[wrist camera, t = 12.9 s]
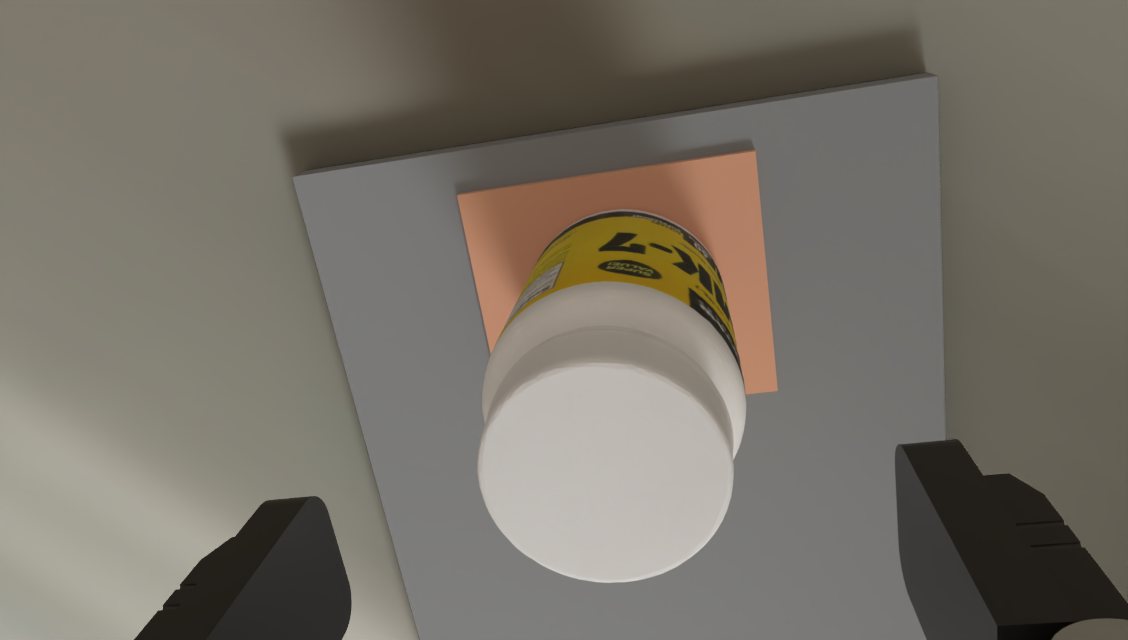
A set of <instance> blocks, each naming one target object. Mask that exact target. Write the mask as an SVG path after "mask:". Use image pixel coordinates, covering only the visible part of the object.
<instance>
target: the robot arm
mask: <svg viewBox="0 0 1128 640" xmlns="http://www.w3.org/2000/svg"><path fill="white" fill-rule="evenodd" d="M895 478H896V500H897V522H898V543H899V555H900V562H901V568H902V573H903V578H904V582H905V586H906V589H907V592H908V595H909V598H910V600H911V603H912V605H913V608H914V610H915V613H916V615H917V618H918V620H919V622H920V625H921V627H922V630H923V632H924V635H925V637H926V640H1128V603H1127V602H1126V601H1125V599H1124V598H1123V597H1122V596H1121V594H1120V593H1119V592H1118V590H1117V589H1116V588H1115V586H1114V585H1113V584H1112V583H1111V581H1110V580H1109V579H1108V577H1107V576H1106V575H1105V573H1104V572H1103V571H1102V570H1101V568H1100V567H1099V566H1098V564H1097V563H1096V562H1095V560H1094V559H1093V558H1092V557H1091V555H1090V554H1089V553H1088V551H1087V550H1086V549H1085V548H1082V547H1081V544H1080V541H1079V540H1078V538H1077V537H1076V536H1075V534H1074V533H1073V532H1072V531H1071V529H1070V528H1069V527H1068V525H1064V520H1063V519H1062V517H1061V516H1060V515H1059V514H1058V512H1057V511H1056V510H1055V508H1054V507H1053V506H1052V504H1051V503H1050V502H1049V501H1048V499H1047V498H1046V497H1045V495H1044V494H1042V493H1041V492H1039V491H1037V490H1036V489H1034V488H1032V487H1031V486H1029V485H1027V484H1026V483H1024V482H1022V481H1021V480H1019V479H1017V478H1016V477H1014V476H1012V475H1011V474H997V475H985V476H983V475H982V473H981V472H980V470H979V469H978V467H977V466H976V464H975V463H974V461H973V460H972V458H971V457H970V455H969V454H968V452H967V451H966V449H965V448H964V446H963V445H962V443H961V442H960V441H959V440H957V439H953V440H942V441H931V442H920V443H909V444H898V445H897V447H896V450H895ZM350 615H351V590H350V585H349V581H348V578H347V574H346V571H345V567H344V564H343V561H342V557H341V554H340V550H339V547H338V544H337V540H336V537H335V533H334V530H333V527H332V523H331V520H330V517H329V513H328V510H327V508H326V506H325V504H324V502H323V501H322V500H321V499H320V498H319V497H317V496H311V497H300V498H289V499H278V500H268V501H265V502H264V503H262V504H261V505H260V507H259V508H258V509H257V510H256V511H255V513H254V514H253V515H252V516H251V518H250V519H249V520H248V521H247V523H246V524H245V525H244V526H243V528H242V529H241V530H240V531H239V533H238V534H237V535H236V536H235V537H232V538H230V539H229V540H228V541H226V542H225V543H223V544H222V545H221V546H219V547H218V548H217V549H215V550H214V551H212V552H211V553H210V554H208V555H207V556H206V557H204V558H203V559H201V560H200V561H199V563H198V564H197V565H196V566H195V567H194V569H193V570H192V571H191V572H190V573H189V575H188V576H187V577H186V578H185V579H184V581H183V582H182V583H181V584H180V589H179V590H175V591H174V593H173V594H172V595H171V596H170V597H169V599H168V600H167V601H166V602H165V603H164V605H163V610H161V611H158V612H157V613H156V614H155V615H154V617H153V618H152V619H151V620H150V621H149V622H148V624H147V625H146V626H145V627H144V628H143V630H142V631H141V632H140V633H139V634H138V636H137V637H136V638H135V639H134V640H342V638H343V636H344V634H345V632H346V630H347V627H348V624H349V620H350Z"/></svg>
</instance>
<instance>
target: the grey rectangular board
mask: <svg viewBox="0 0 1128 640" xmlns="http://www.w3.org/2000/svg"><path fill="white" fill-rule="evenodd" d="M292 178H293V182H294V185H295V189H296V193H297V196H298V200H299V204H300V207H301V211H302V214H303V218H304V222H305V225H306V229H307V233H308V236H309V240H310V244H311V247H312V251H313V254H314V258H315V262H316V265H317V269H318V273H319V276H320V280H321V283H322V287H323V291H324V294H325V298H326V302H327V305H328V309H329V312H330V316H331V320H332V323H333V327H334V331H335V334H336V338H337V341H338V345H339V349H340V352H341V356H342V360H343V363H344V367H345V370H346V374H347V378H348V381H349V385H350V389H351V392H352V396H353V399H354V403H355V407H356V410H357V414H358V418H359V421H360V425H361V429H362V432H363V436H364V439H365V443H366V447H367V450H368V454H369V458H370V461H371V465H372V468H373V472H374V476H375V479H376V483H377V487H378V490H379V494H380V497H381V501H382V505H383V508H384V512H385V516H386V519H387V523H388V526H389V530H390V534H391V537H392V541H393V545H394V548H395V552H396V555H397V559H398V563H399V566H400V570H401V574H402V577H403V581H404V584H405V588H406V592H407V595H408V599H409V603H410V606H411V610H412V614H413V617H414V621H415V624H416V628H417V632H418V635H419V639H420V640H926V637H925V635H924V632H923V630H922V627H921V625H920V622H919V620H918V618H917V615H916V613H915V610H914V608H913V605H912V603H911V600H910V598H909V595H908V592H907V589H906V586H905V582H904V578H903V573H902V568H901V562H900V555H899V543H898V522H897V500H896V478H895V450H896V447H897V445H898V444H909V443H920V442H931V441H942V440H946V429H945V382H944V336H943V289H942V243H941V197H940V150H939V104H938V76H937V75H933V74H930V73H922V74H916V75H909V76H903V77H897V78H890V79H884V80H878V81H871V82H865V83H859V84H852V85H846V86H840V87H833V88H827V89H821V90H814V91H808V92H802V93H795V94H789V95H782V96H776V97H770V98H763V99H757V100H751V101H744V102H738V103H732V104H725V105H719V106H713V107H706V108H700V109H694V110H687V111H681V112H675V113H668V114H662V115H655V116H649V117H643V118H636V119H630V120H624V121H617V122H611V123H605V124H598V125H592V126H586V127H579V128H573V129H567V130H560V131H554V132H548V133H541V134H535V135H528V136H522V137H516V138H509V139H503V140H497V141H490V142H484V143H478V144H471V145H465V146H459V147H452V148H446V149H440V150H433V151H427V152H421V153H414V154H408V155H401V156H395V157H389V158H382V159H376V160H370V161H363V162H357V163H351V164H344V165H338V166H332V167H325V168H319V169H313V170H306V171H303V172H301V173H299V174H297V175H295V176H293V177H292ZM616 209H633V210H640V211H646V212H650V213H653V214H657V215H660V216H663V217H665V218H667V219H669V220H671V221H673V222H675V223H677V224H679V225H681V226H682V227H684V228H685V229H687V230H688V231H689V232H691V233H692V234H693V235H694V236H695V237H696V238H698V240H699V241H700V242H701V243H702V244H703V245H704V246H705V247H706V249H707V250H708V251H709V253H710V254H711V256H712V258H713V259H714V261H715V263H716V265H717V267H718V269H719V272H720V274H721V278H722V281H723V284H724V288H725V292H726V297H727V303H728V308H729V312H730V316H731V321H732V325H733V330H734V335H735V340H736V344H737V350H738V354H739V358H740V365H741V370H742V374H743V377H744V385H745V395H746V419H745V426H744V432H743V436H742V440H741V443H740V446H739V449H738V451H737V453H736V456H735V458H734V460H733V465H734V480H733V488H732V495H731V499H730V502H729V506H728V509H727V512H726V514H725V516H724V518H723V521H722V522H721V524H720V526H719V528H718V529H717V531H716V532H715V534H714V535H713V536H712V538H711V539H710V540H709V541H708V542H707V543H706V544H705V546H704V547H703V548H701V549H700V550H699V551H698V552H697V553H696V554H695V555H693V556H692V557H691V558H689V559H688V560H686V561H685V562H683V563H682V564H680V565H679V566H677V567H675V568H673V569H671V570H669V571H667V572H665V573H663V574H660V575H656V576H653V577H650V578H646V579H642V580H638V581H630V582H614V583H602V582H592V581H586V580H580V579H576V578H572V577H568V576H565V575H562V574H559V573H557V572H555V571H552V570H550V569H548V568H546V567H544V566H542V565H540V564H539V563H537V562H536V561H534V560H533V559H531V558H529V557H528V556H526V555H525V554H523V553H522V552H521V551H520V550H518V549H517V548H516V547H515V546H514V545H513V544H512V543H511V542H510V541H509V540H508V539H507V537H506V536H505V535H504V534H503V533H502V532H501V531H500V529H499V528H498V527H497V525H496V523H495V522H494V520H493V519H492V517H491V515H490V513H489V511H488V509H487V507H486V505H485V502H484V499H483V496H482V493H481V490H480V486H479V480H478V473H477V458H478V448H479V443H480V439H481V435H482V431H483V428H484V425H485V422H484V416H483V409H482V392H483V382H484V377H485V372H486V368H487V364H488V361H489V358H490V355H491V353H492V351H493V349H494V346H495V344H496V342H497V340H498V338H499V336H500V334H501V332H502V330H503V328H504V326H505V324H506V322H507V320H508V318H509V316H510V314H511V312H512V310H513V308H514V306H515V304H516V302H517V300H518V298H519V296H520V294H521V292H522V290H523V289H524V287H525V285H526V283H527V281H528V279H529V277H530V275H531V273H532V271H533V269H534V267H535V265H536V263H537V261H538V259H539V257H540V256H541V254H542V252H543V251H544V250H545V248H546V247H547V246H548V244H549V243H550V242H551V241H552V240H553V239H554V238H555V237H556V236H557V235H558V234H559V233H560V232H562V231H563V230H564V229H566V228H567V227H568V226H570V225H571V224H573V223H574V222H576V221H578V220H580V219H582V218H584V217H587V216H590V215H592V214H595V213H599V212H602V211H608V210H616Z"/></svg>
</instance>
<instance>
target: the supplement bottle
mask: <svg viewBox="0 0 1128 640" xmlns="http://www.w3.org/2000/svg"><path fill="white" fill-rule="evenodd" d="M482 409H483V416H484V422H485V425H484V428H483V431H482V435H481V439H480V443H479V448H478V458H477V473H478V480H479V486H480V490H481V493H482V496H483V499H484V502H485V505H486V507H487V509H488V511H489V513H490V515H491V517H492V519H493V520H494V522H495V523H496V525H497V527H498V528H499V529H500V531H501V532H502V533H503V534H504V535H505V536H506V537H507V539H508V540H509V541H510V542H511V543H512V544H513V545H514V546H515V547H516V548H517V549H518V550H520V551H521V552H522V553H523V554H525V555H526V556H528V557H529V558H531V559H533V560H534V561H536V562H537V563H539V564H540V565H542V566H544V567H546V568H548V569H550V570H552V571H555V572H557V573H559V574H562V575H565V576H568V577H572V578H576V579H580V580H586V581H592V582H602V583H614V582H630V581H638V580H642V579H646V578H650V577H653V576H656V575H660V574H663V573H665V572H667V571H669V570H671V569H673V568H675V567H677V566H679V565H680V564H682V563H683V562H685V561H686V560H688V559H689V558H691V557H692V556H693V555H695V554H696V553H697V552H698V551H699V550H700V549H701V548H703V547H704V546H705V544H706V543H707V542H708V541H709V540H710V539H711V538H712V536H713V535H714V534H715V532H716V531H717V529H718V528H719V526H720V524H721V522H722V521H723V518H724V516H725V514H726V512H727V509H728V506H729V502H730V499H731V495H732V488H733V480H734V465H733V460H734V458H735V456H736V453H737V451H738V449H739V446H740V443H741V440H742V436H743V432H744V426H745V419H746V395H745V385H744V377H743V374H742V370H741V365H740V358H739V354H738V350H737V344H736V340H735V335H734V330H733V325H732V321H731V316H730V312H729V308H728V303H727V297H726V292H725V288H724V284H723V281H722V278H721V274H720V272H719V269H718V267H717V265H716V263H715V261H714V259H713V258H712V256H711V254H710V253H709V251H708V250H707V249H706V247H705V246H704V245H703V244H702V243H701V242H700V241H699V240H698V238H696V237H695V236H694V235H693V234H692V233H691V232H689V231H688V230H687V229H685V228H684V227H682V226H681V225H679V224H677V223H675V222H673V221H671V220H669V219H667V218H665V217H663V216H660V215H657V214H653V213H650V212H646V211H640V210H633V209H616V210H608V211H602V212H599V213H595V214H592V215H590V216H587V217H584V218H582V219H580V220H578V221H576V222H574V223H573V224H571V225H570V226H568V227H567V228H566V229H564V230H563V231H562V232H560V233H559V234H558V235H557V236H556V237H555V238H554V239H553V240H552V241H551V242H550V243H549V244H548V246H547V247H546V248H545V250H544V251H543V252H542V254H541V256H540V257H539V259H538V261H537V263H536V265H535V267H534V269H533V271H532V273H531V275H530V277H529V279H528V281H527V283H526V285H525V287H524V289H523V290H522V292H521V294H520V296H519V298H518V300H517V302H516V304H515V306H514V308H513V310H512V312H511V314H510V316H509V318H508V320H507V322H506V324H505V326H504V328H503V330H502V332H501V334H500V336H499V338H498V340H497V342H496V344H495V346H494V349H493V351H492V353H491V355H490V358H489V361H488V364H487V368H486V372H485V377H484V382H483V392H482Z"/></svg>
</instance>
